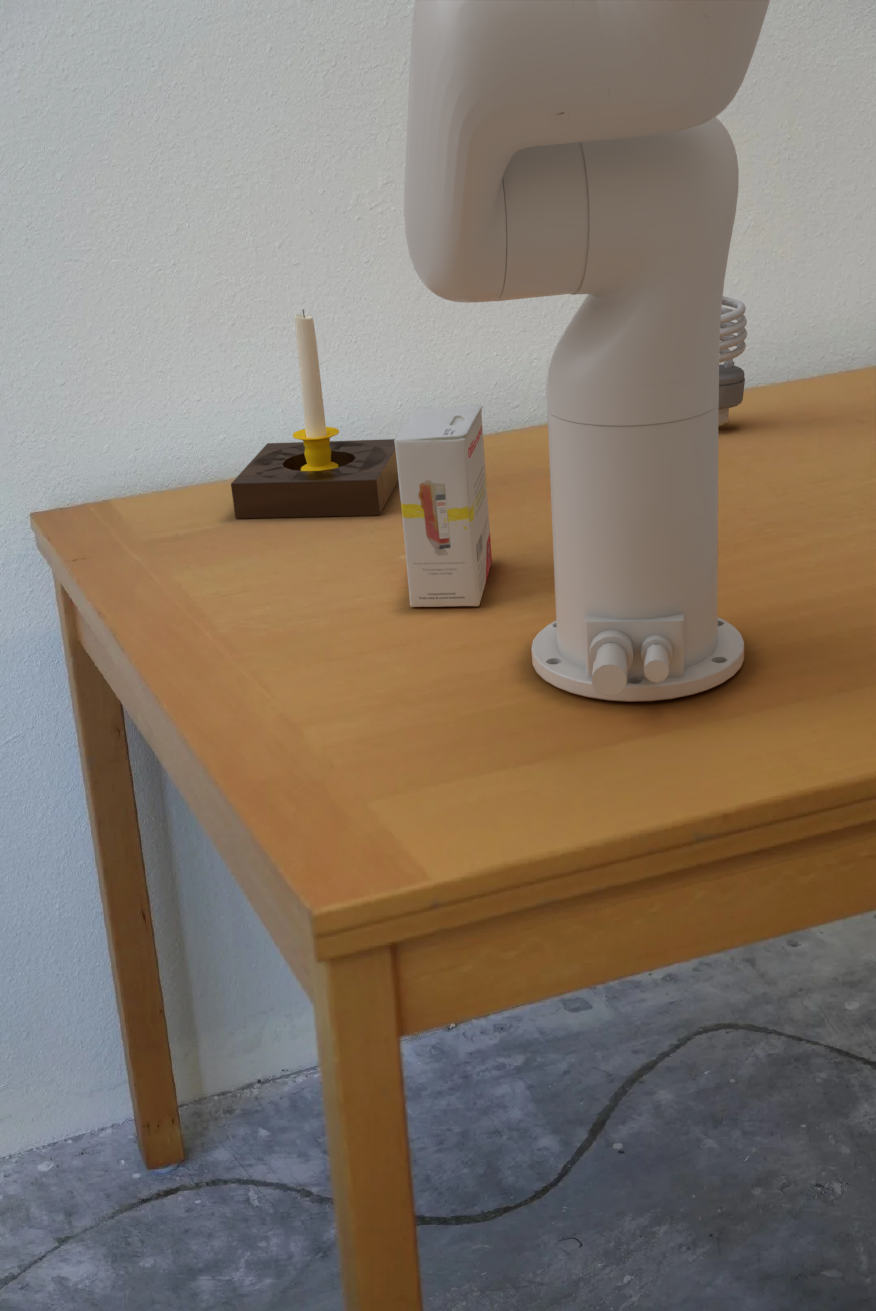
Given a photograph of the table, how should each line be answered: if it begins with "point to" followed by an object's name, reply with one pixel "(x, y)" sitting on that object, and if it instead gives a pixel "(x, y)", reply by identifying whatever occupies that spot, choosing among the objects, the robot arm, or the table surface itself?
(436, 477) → the ink box
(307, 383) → the candle
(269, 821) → the table surface
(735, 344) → the light bulb
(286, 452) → the holder
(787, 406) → the table surface
